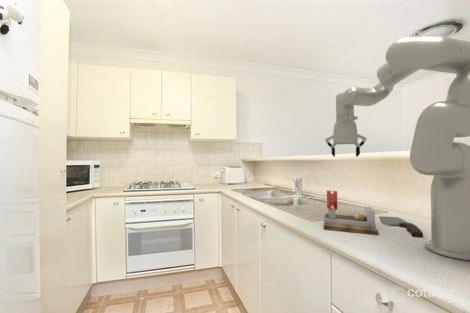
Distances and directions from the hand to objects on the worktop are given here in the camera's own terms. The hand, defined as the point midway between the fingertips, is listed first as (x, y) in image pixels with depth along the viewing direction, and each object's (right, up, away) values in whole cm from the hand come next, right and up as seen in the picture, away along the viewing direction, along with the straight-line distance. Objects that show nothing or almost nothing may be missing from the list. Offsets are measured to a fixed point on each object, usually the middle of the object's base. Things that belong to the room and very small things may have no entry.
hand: (345, 156), depth 106 cm
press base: (-6, -28, -14) cm, 32 cm away
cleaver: (+15, -29, -13) cm, 35 cm away
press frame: (-6, -27, -14) cm, 31 cm away
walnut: (-2, -25, -16) cm, 29 cm away
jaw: (-11, -26, -12) cm, 31 cm away
